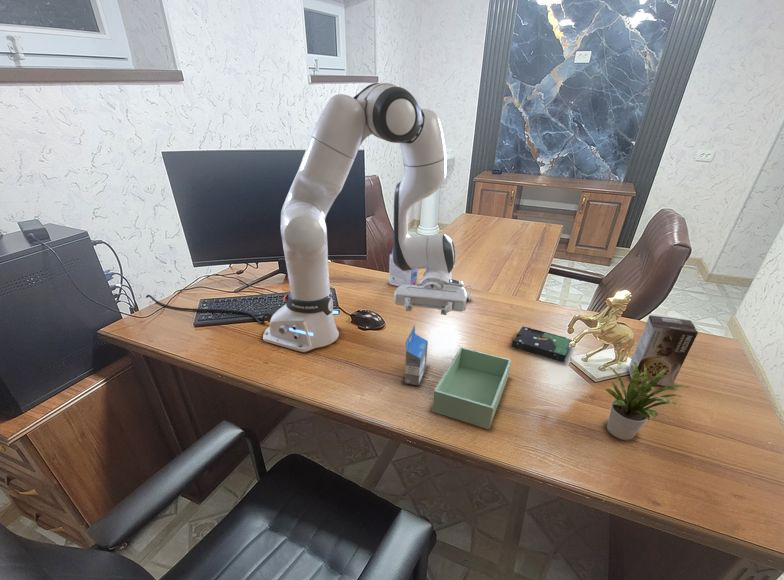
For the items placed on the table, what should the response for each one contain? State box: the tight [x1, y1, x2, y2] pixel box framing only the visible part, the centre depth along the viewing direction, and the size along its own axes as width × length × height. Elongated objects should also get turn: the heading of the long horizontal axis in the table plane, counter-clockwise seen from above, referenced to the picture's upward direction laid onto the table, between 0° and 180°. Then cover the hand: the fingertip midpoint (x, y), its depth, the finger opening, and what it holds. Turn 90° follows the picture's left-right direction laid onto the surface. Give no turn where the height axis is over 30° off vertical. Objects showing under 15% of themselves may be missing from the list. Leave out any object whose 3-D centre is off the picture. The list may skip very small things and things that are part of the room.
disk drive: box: [510, 325, 573, 364], centre depth 112 cm, size 10×3×15 cm
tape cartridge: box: [404, 325, 429, 386], centre depth 98 cm, size 9×4×12 cm, turn 163°
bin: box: [431, 346, 512, 430], centre depth 93 cm, size 20×13×6 cm, turn 154°
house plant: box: [603, 362, 689, 441], centre depth 79 cm, size 14×14×16 cm
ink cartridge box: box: [388, 252, 419, 287], centre depth 146 cm, size 10×6×14 cm, turn 59°
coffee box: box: [627, 314, 699, 387], centre depth 97 cm, size 9×6×16 cm
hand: (425, 310), depth 103 cm, fingers open, 8 cm apart
